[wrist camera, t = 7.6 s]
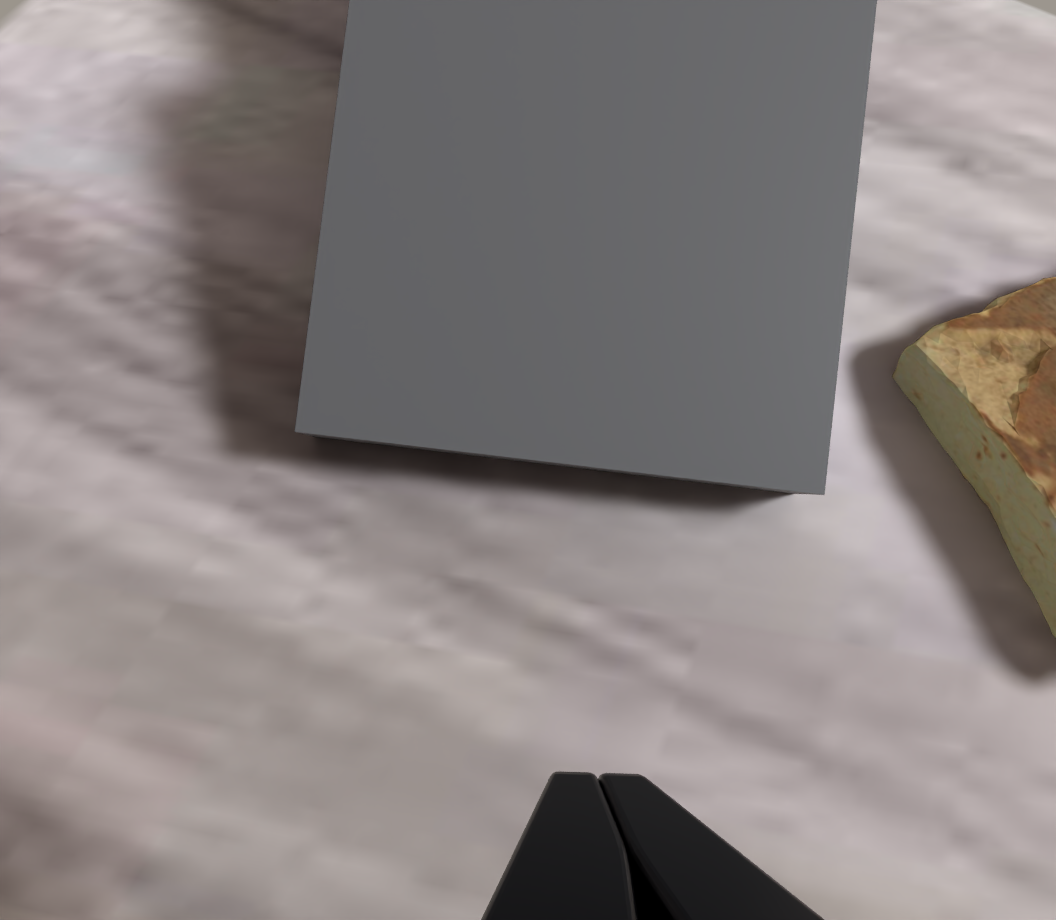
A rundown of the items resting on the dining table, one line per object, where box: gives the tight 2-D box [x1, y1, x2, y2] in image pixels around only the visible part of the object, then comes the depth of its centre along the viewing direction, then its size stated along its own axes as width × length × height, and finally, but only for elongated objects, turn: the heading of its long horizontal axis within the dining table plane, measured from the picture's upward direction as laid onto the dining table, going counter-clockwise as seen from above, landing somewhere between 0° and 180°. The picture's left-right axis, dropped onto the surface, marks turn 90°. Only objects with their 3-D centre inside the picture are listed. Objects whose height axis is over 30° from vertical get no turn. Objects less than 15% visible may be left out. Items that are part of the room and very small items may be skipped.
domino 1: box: [295, 0, 877, 495], centre depth 17 cm, size 2×10×10 cm
